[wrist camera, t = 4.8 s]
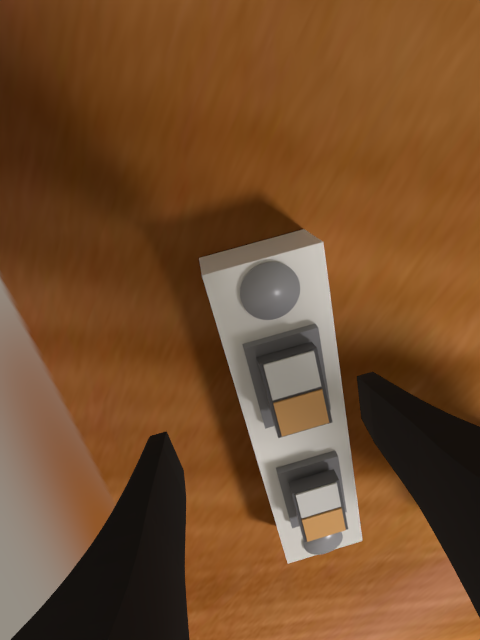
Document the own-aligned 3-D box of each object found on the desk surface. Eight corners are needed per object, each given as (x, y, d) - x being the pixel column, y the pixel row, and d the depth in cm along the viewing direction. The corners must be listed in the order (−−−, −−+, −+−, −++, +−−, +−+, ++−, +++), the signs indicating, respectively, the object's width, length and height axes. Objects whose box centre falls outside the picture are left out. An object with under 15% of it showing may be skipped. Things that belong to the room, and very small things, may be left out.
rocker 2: (342, 517, 25) (348, 530, 24) (300, 530, 25) (304, 543, 24) (333, 468, 23) (339, 481, 22) (288, 482, 23) (292, 495, 22)
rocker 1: (326, 413, 20) (333, 423, 19) (274, 428, 20) (278, 439, 19) (311, 341, 19) (317, 348, 18) (256, 357, 19) (259, 364, 18)
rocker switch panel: (346, 506, 31) (365, 547, 28) (278, 527, 31) (289, 570, 28) (304, 229, 20) (326, 244, 17) (198, 258, 20) (202, 278, 17)
